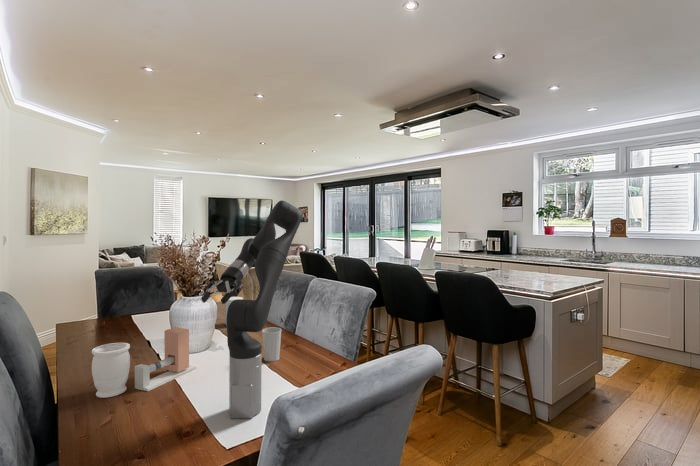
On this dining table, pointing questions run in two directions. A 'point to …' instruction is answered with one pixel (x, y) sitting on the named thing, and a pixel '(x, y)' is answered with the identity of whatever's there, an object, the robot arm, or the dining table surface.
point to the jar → (110, 369)
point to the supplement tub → (228, 305)
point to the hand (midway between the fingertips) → (212, 301)
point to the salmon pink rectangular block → (177, 348)
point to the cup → (271, 343)
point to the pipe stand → (148, 384)
